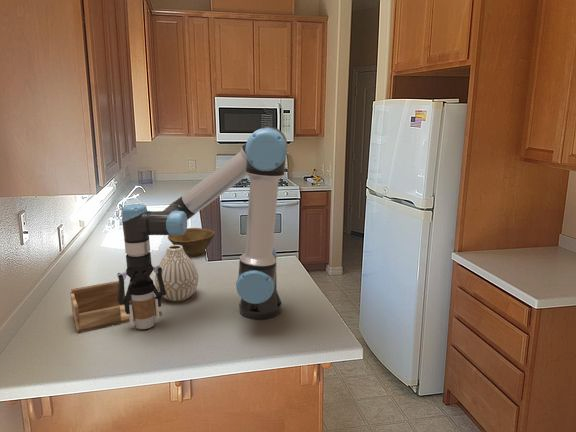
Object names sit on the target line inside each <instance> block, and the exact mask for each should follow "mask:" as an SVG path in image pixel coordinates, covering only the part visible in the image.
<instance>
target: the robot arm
mask: <svg viewBox="0 0 576 432" xmlns="http://www.w3.org/2000/svg"><path fill="white" fill-rule="evenodd" d="M287 148H288V141H287V138H286V136H285V134H284V133H283V132H282V131H281V130H280V129H278V128H277V127H274V126H264V127H261V128H259V129H257V130H255V131H254V132H252V133H251V134H250V136H248V139H247V140H246V142H245V143H244V144H243V145H242V146H241V147H240V151H239V152H238V153H236V154H235V155H234V156H233V157H231V158H230V159H229V160H227V161H226V162H224V164H222V165H221V166H219V167H218V168H217V169H215V170H214V171H212V172H211V173H210V174H209V175H208V176H206V177H205V178H203V179H202V180H201V181H200V182H198V183H197V184H196V185H195V186H193V187H192V188H190V189H189V190H188V191H187V192H185V193H184V194H182V196H180V197H179V198H177V199H176V200H174V201H173V202H171V203H170V204H169V205H168V206H167V207H166V208H164V209H163V210H155V211H154V210H153V211H152V210H151V211H150V210H148V209H147V205H146V204H144V203H143V204H142V203H131V204H127V205H124V206H123V207H122V209H121V222H122V223H121V225H122V231H123V237H124V238H123V240H124V251H125V254H126V255H125V261H126V269H125V271H124V272H118V273H116V275H117V278H118V281H119V288H118V302H119V304H120V305H122V304H123V305H125V312H126V314H129V321H130V322H129V323H130V324H131V325H133V324H135V321H133V312H132V304H131V303H130V300H131V294H130V293H129V292H130V290H129V292H128V288H127V290H126V291H125V292H126V293H125V299H123V298H124V289H125V280H126V277H127V276H128V277H129V278H130V279H129V283H128V285H129V286H130V287H133V288H134V287H135V285H136V283H137V282H140V281H146V280H147V281H148V283H149V284H150V283H151V282H152V280H153V279H152V278H151V274H153V272H154V273H155V275H156V276H157V280H158V284H159V288H160V292H158V290H157V288H156V284H154V282H153V284H154V287H155V290H154V311H155V316H154V317H156V319H158V318H160V315H159V309H160V307H162V298H163V295H166V291H165V287H164V283H163V279H162V275H161V274H162V268H161V267H160V266H159V265H156V266H153V264H152V254H151V245H150V244H151V243H150V236H168V235H173V236H175V235H183V234H184V233H185V232H186V229H187V228H188V220H189V219H191V218H193V216H195V215H196V214H197V213H199V212H200V211H202V209H204V208H205V207H207V206H208V205H209V204H211V203H212V202H214V201H215V200H216V199H217V198H219V197H220V196H221V195H224V193H225V192H226V191H228V190H230V189H231V188H232V187H234V186H235V185H236V184H238V183H239V182H240V181H242V180H243V179H244V178H246V177H249V178H250V179H249V191H248V193H249V194H248V209H247V220H246V221H247V222H246V234H245V247H244V248H245V249H243V250H242V254H241V255H240V256H239V264H238V277H237V279H236V281H235V287H236V288H235V289H236V292H237V294H238V296H239V297H240V300H239V304H238V311H239V314H240V315H241V316H243V317H245V318H248V319H254V320H263V319H270V318H274V317H276V316H278V315H280V314H281V312H282V311H283V309H282V308H283V307H282V305H283V304H282V300H281V297H280V294H279V292H278V290H277V283H278V281H277V280H278V279H277V257H278V256H277V250H276V249H275V248H274V237H275V225H276V217H277V216H276V214H277V203H278V194H279V193H278V192H279V181H280V179H282V178H283V177H284V176H285V168H286V158H287V152H288V149H287ZM151 279H152V280H151ZM158 307H159V309H158Z"/></svg>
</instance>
